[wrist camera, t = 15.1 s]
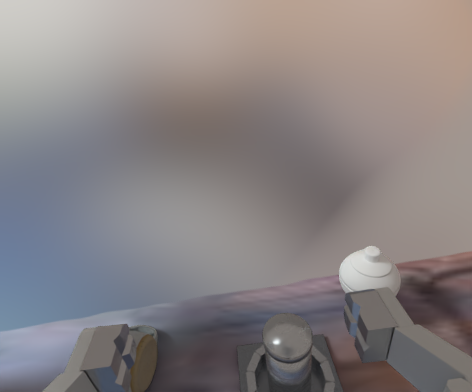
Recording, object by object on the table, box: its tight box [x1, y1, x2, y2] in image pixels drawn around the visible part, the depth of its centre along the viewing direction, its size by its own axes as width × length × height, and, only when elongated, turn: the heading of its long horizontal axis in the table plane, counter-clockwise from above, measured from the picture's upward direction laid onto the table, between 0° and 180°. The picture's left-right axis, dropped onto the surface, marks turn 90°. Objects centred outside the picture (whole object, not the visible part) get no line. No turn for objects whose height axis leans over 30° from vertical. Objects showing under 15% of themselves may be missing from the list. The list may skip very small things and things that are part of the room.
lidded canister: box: [262, 313, 313, 392], centre depth 34 cm, size 5×5×10 cm
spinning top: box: [339, 246, 401, 296], centre depth 42 cm, size 8×8×12 cm
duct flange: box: [237, 334, 343, 392], centre depth 36 cm, size 12×12×3 cm
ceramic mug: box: [99, 325, 158, 392], centre depth 40 cm, size 11×8×8 cm
